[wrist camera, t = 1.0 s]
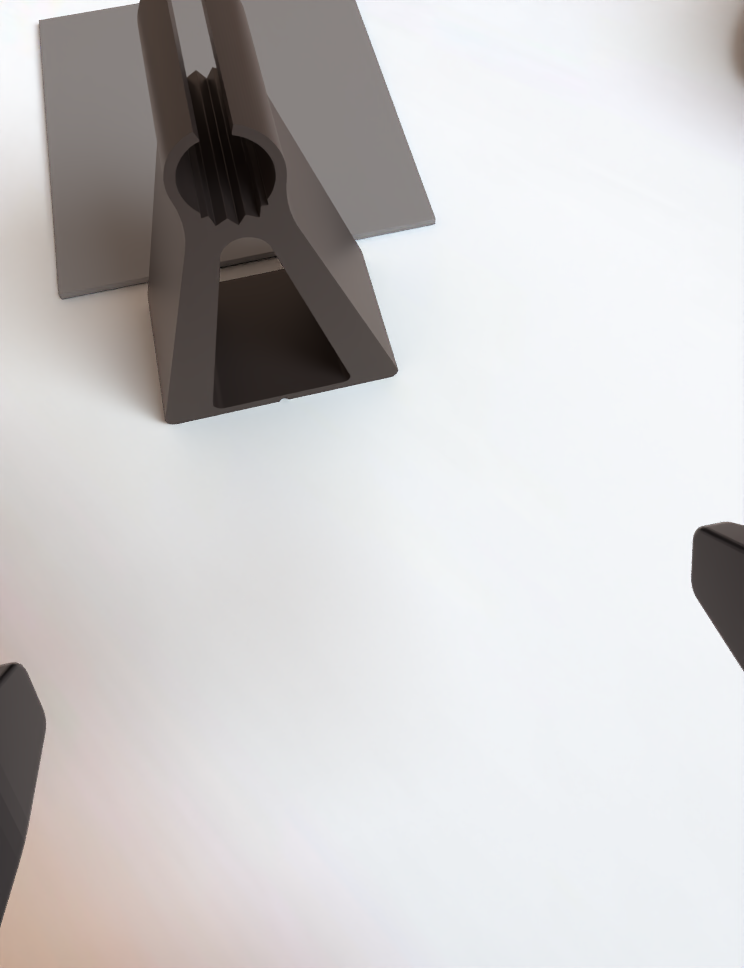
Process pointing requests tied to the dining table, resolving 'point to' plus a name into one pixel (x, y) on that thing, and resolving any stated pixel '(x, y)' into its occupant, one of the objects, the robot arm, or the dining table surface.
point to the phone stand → (238, 214)
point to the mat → (282, 59)
